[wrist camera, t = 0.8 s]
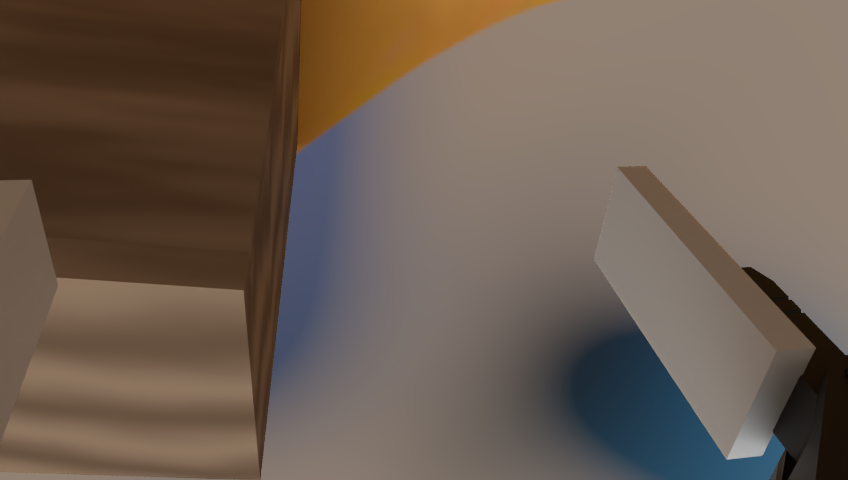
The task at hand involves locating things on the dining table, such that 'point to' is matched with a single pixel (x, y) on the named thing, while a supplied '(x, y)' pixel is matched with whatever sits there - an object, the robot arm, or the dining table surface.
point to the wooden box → (152, 227)
